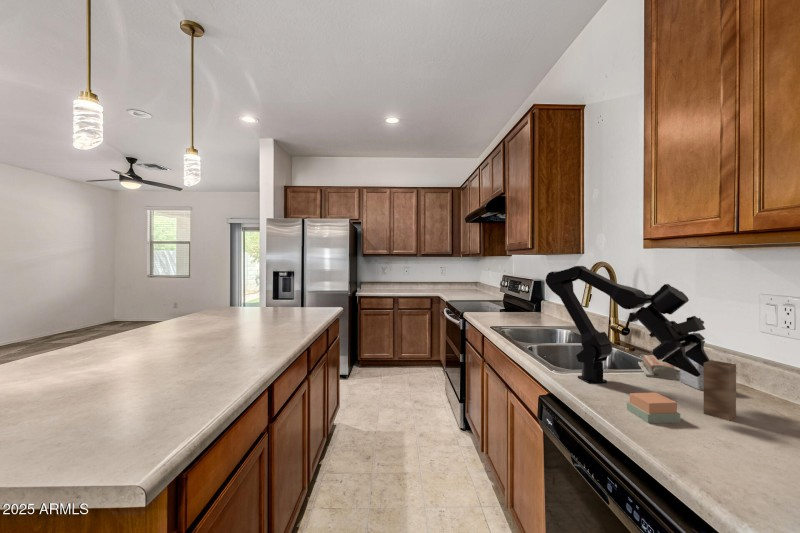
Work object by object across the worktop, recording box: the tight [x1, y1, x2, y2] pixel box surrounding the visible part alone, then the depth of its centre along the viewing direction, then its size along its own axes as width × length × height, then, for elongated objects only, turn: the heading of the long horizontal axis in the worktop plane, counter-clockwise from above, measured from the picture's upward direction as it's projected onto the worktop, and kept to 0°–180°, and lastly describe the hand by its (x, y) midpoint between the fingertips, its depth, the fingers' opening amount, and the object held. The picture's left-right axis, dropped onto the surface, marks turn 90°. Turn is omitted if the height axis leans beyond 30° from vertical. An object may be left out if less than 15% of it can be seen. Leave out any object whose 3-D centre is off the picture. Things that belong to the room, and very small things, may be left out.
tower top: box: [629, 392, 678, 414], centre depth 93 cm, size 7×7×2 cm
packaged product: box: [637, 354, 680, 381], centre depth 131 cm, size 18×5×10 cm
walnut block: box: [703, 359, 737, 421], centre depth 94 cm, size 5×5×13 cm
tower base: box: [626, 401, 681, 424], centre depth 93 cm, size 8×8×2 cm
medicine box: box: [679, 358, 704, 391], centre depth 115 cm, size 8×4×9 cm, turn 179°
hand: (706, 372), depth 96 cm, fingers open, 9 cm apart
